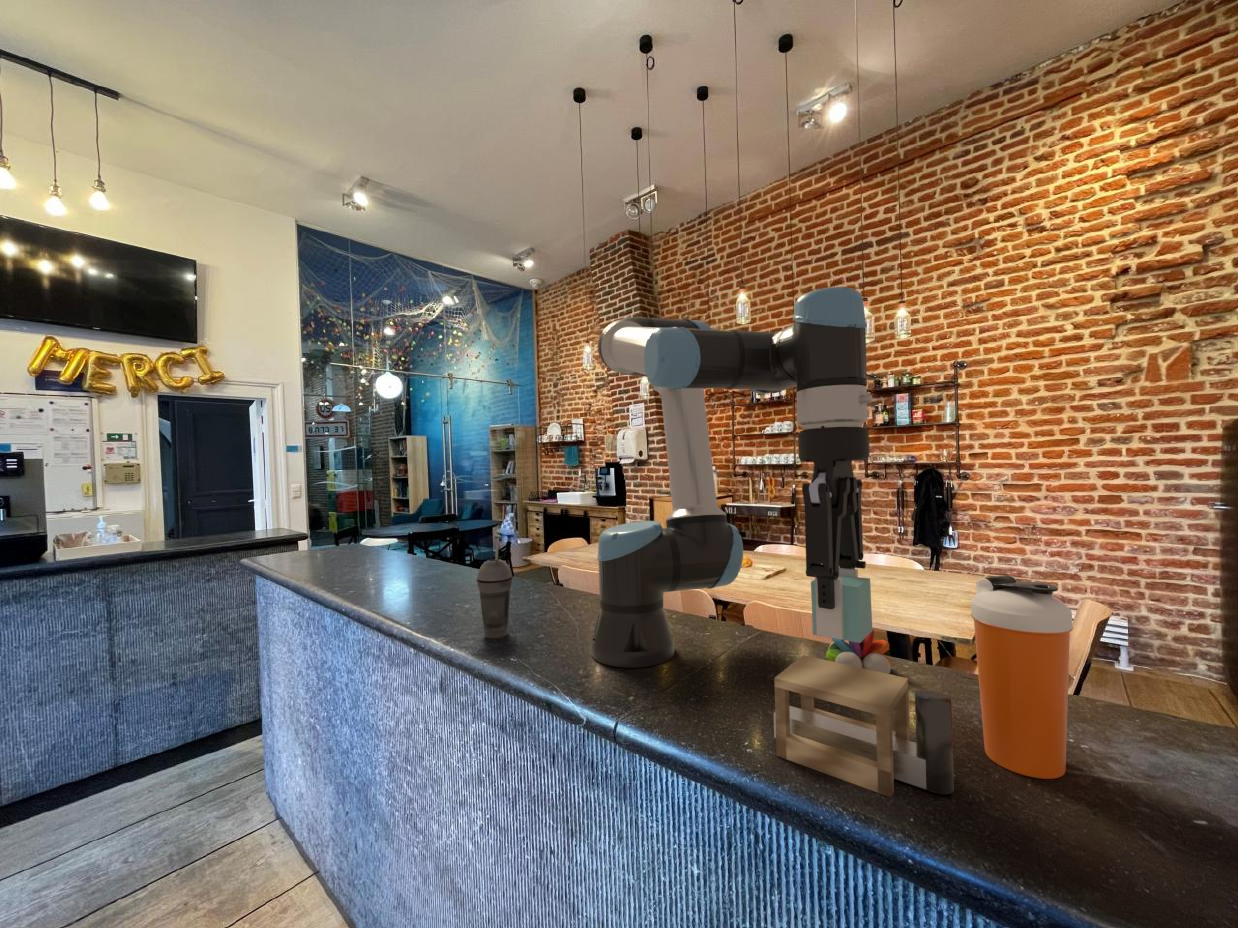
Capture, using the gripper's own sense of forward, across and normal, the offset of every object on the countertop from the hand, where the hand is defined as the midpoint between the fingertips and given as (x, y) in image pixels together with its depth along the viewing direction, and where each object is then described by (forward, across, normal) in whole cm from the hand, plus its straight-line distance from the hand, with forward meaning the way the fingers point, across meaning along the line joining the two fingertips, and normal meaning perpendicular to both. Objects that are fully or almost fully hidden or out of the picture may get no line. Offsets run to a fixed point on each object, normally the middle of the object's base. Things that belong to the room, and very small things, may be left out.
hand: (838, 629), depth 58 cm
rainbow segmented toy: (+15, +26, +6) cm, 31 cm away
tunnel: (+15, 0, 0) cm, 15 cm away
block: (0, 0, 0) cm, 1 cm away
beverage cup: (+15, +2, +69) cm, 71 cm away
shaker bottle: (+15, +12, -16) cm, 25 cm away
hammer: (+15, 0, -1) cm, 15 cm away
